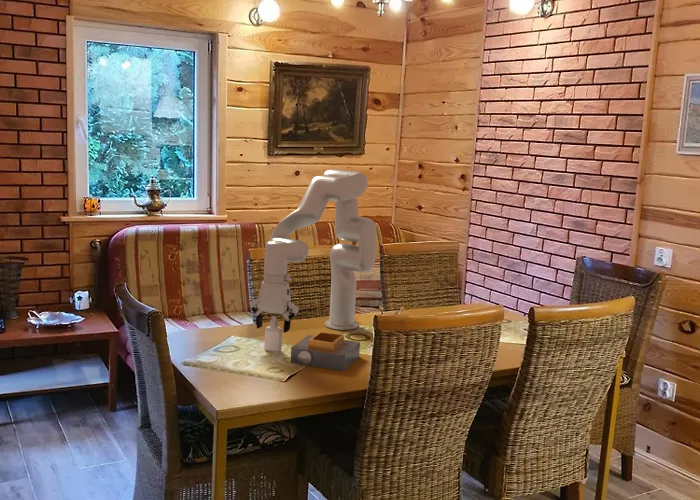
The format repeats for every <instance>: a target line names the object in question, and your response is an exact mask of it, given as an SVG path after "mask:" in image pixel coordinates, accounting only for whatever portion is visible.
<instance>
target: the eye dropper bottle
mask: <svg viewBox="0 0 700 500" xmlns="http://www.w3.org/2000/svg"><path fill="white" fill-rule="evenodd" d="M269 322H270V323H269V325H268V326H266V327H265V328H264V329H265V330H264V348H263V349H264V351H267V352H269V351H270V353H280V352H281V351H282V350H283V349H282V343H283V329H282V328H281V327H280V326H279V325H278V324H279V323H278V319H277V318H276V315H272V318H271V319H270V321H269Z"/></svg>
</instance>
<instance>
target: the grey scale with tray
mask: <svg viewBox="0 0 700 500" xmlns="http://www.w3.org/2000/svg"><path fill="white" fill-rule="evenodd" d="M360 348H361V342H360V341H354V340H348V339H345V334H339V333H333V332H326V331H318V332H317V333H315V334H308V335H307V336H305V337H304V338H303V339H301V340H299V341H298V342H297V343H295V344H294V345H292V346H291V347H290V364H295V363H296V365H302V366H310V367H315V368H322V369H326V370H327V369H329V370H335V371H340V372H341V371H342V372H345V371H346V370H347V369H348V368H349V367H350V366H352V364H353V363H354V362H355V361H357V360H358V359H359V358H360V351H361V349H360Z"/></svg>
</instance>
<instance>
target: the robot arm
mask: <svg viewBox="0 0 700 500" xmlns="http://www.w3.org/2000/svg"><path fill="white" fill-rule="evenodd" d="M368 183H369V182H368V178H367V176H366V174H364V173H363V172H362V171H357V170H355V171H354V170H345V169H327V170H326V171H325V172H324V173H323V174H322V175H315V176H314V177H313V178H311V180H310V183H309V184H308V186H307V187H306V190H305V193H304V194H303V197H302V199H301V201H300V202H299V204H298V207H297V208H296V209H295V210H294V211H293V212H291V213H289V214H288V215H287V216H285V217H284V218H283V219H282V220H280V221H279V222H278V223H277V224H276V226H275V227H274V230H273V231H272V233H271V235H270V237H269V240H268V241H267V242H266V243H265V246H264V264H263V265H264V267H263V268H264V269H263V281H261V284H260V288H259V293H258V298H256V299H253V300H251V301H249V303H248V304H249V306H250V308H251V311H252V312H253V314H254V316H255V326H256V329H260V328H262V327H263V322H264V321H263V320H264V319H263V317H264V316H263V313H269V314H276V315H282V316H283V318H284V320H283V333H288V332H289V331H290V330H291V320H292V319H293V318H295V316H296V315H297V313H298V312H299V310H300V307H298V305H295V304H294V303H293V302H292V301H291V299H292V298H291V288H290V283H289V282H291V279H292V278H291V276H290V277H289V276H288V265H289V264H288V263H301V262H303V261H304V260H306V259H307V258H308V255H309V246H308V245H307V243H306V242H304V241H302V240H299V239H294V238H289V236H290V235H291V234H293V233H294V232H295V231H297V230H299V229H302V228H305V227H309V226H311V225H314V224H317V223H318V222H319V221H320V220H321V218H322V215H323V213H324V211H325V209H326V207H327V205H328V203H329V202H334V207H335V208H334V234H335V237H336V238H337V239H339V240H341V241H346V242H352V243H353V242H354V243H358V244H357V245H356V244H351V243H337V244H335V245H333V246H332V247H331V249H330V252H329V261H330V262H329V263H330V271H331V274H330V275H331V280H330V282H331V284H330V299H329V301H330V302H329V303H330V304H329V319H326V321H324V322H325V323H324V325H325V327H327V328H329V329H331V330H339V331H348V330H350V331H351V330H354V329H355V330H356V329H357V328H358V327H359V323H358V321H356V320H355V314H356V298H357V297H356V296H357V295H356V294H357V277H356V276H355V272H359V273H369V272H371V271H372V270H373V269H374V267H375V264H376V255H377V226H376V223H375V222H374V220H372V219H371V218H369V217H366V216H365V217H364V216H360V215H359V202H358V201H359V200H358V197H361V196H362V195H364V193H365V192H366V190H367V188H368ZM256 304H257V306H256ZM291 310H292V312H291V313H290V311H291Z"/></svg>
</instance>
